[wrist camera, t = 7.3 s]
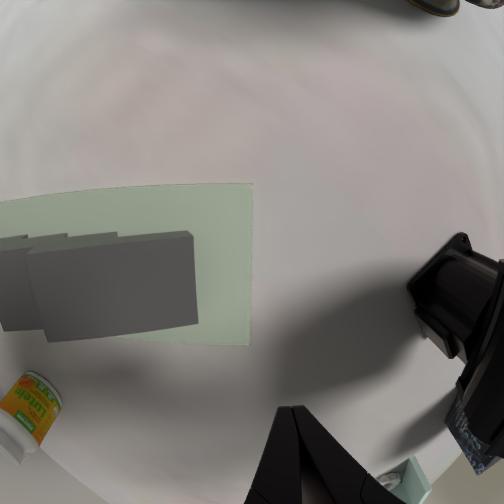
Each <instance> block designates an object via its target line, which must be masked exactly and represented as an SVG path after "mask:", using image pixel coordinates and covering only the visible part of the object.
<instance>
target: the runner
mask: <svg viewBox="0 0 504 504" xmlns="http://www.w3.org/2000/svg"><path fill="white" fill-rule="evenodd" d="M252 202H253V184H177V185H153V186H136V187H121V188H108V189H97V190H87V191H77V192H68V193H60V194H52V195H44V196H37V197H30V198H24V199H18V200H12V201H6V202H0V238H6V237H13V236H19V235H26V234H28V238H31V237H39V236H46V235H53V234H61V233H68V237H72V236H80V235H89V234H97V233H107V232H116V231H117V233H118V237H122V236H131V235H141V234H152V233H162V232H173V231H185V230H187V231H188V232H190V233H191V234H192V235H193V236H194V259H195V278H196V294H197V308H198V321H199V324H194V325H188V326H182V327H176V328H170V329H163V330H157V331H150V332H142V333H135V334H127V335H119V336H111V337H114V338H122V339H131V340H141V341H153V342H165V343H181V344H201V345H250V323H251V262H252Z"/></svg>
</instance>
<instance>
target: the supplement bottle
mask: <svg viewBox="0 0 504 504" xmlns="http://www.w3.org/2000/svg"><path fill="white" fill-rule="evenodd" d="M61 408H62V401H61V398H60V396H59V395H58V393H57V391H56V390H55V389H54V388H53V386H52V385H51V384H50V383H49V382H48V381H46V380H45V379H44V378H42V377H41V376H39V375H38V374H36V373H33V372H26V373H25V374H24V375H23V376H22V377H21V378H20V379H19V380H18V381H17V383H16V384H15V385H14V386H13V387H12V389H11V390H10V391H9V392H8V394H7V395H6V396H5V397H4V398H3V400H2V401H1V402H0V454H2V455H3V456H4V457H5V458H6V459H8V460H9V461H10V462H12V463H14V464H15V465H18V466H19V465H20V464H21V462H22V461H23V459H24V457H25V455H24V452H28V453H33V452H35V451H36V450H37V449H38V447H39V446H40V444H41V442H42V440H43V439H44V437H45V435H46V433H47V432H48V430H49V428H50V427H51V425H52V423H53V422H54V420H55V418H56V417H57V415H58V414H59V412H60V410H61Z"/></svg>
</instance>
